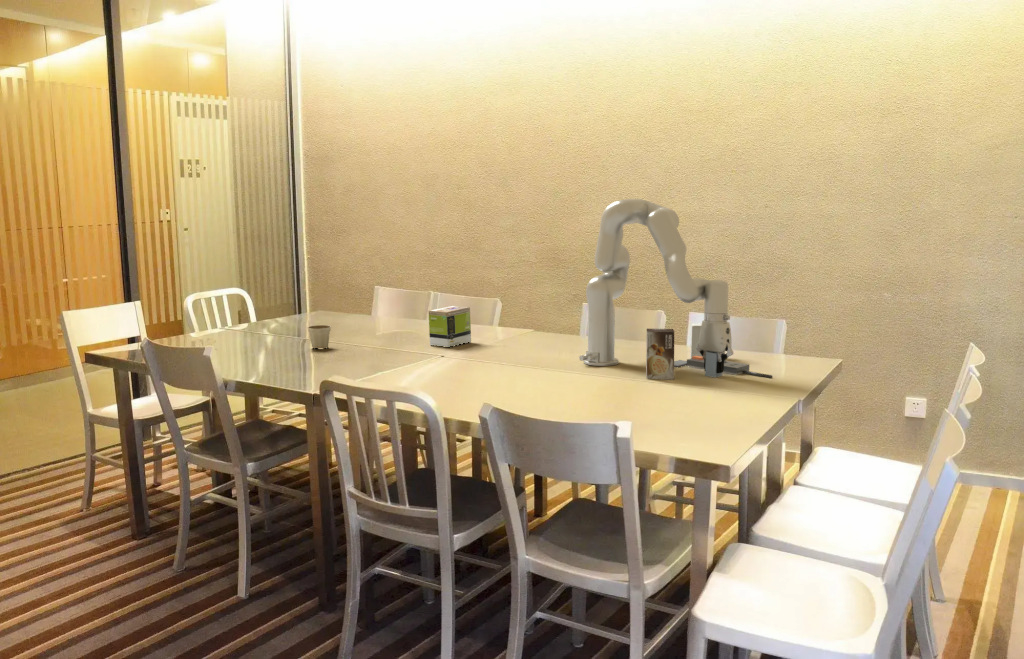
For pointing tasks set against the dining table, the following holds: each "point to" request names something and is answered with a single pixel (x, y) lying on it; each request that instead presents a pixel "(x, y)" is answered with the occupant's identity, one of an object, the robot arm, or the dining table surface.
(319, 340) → the flower pot
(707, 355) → the block
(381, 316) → the dining table surface
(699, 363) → the power strip
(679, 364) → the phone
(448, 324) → the tea box
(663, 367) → the coffee box
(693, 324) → the supplement box
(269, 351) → the dining table surface
